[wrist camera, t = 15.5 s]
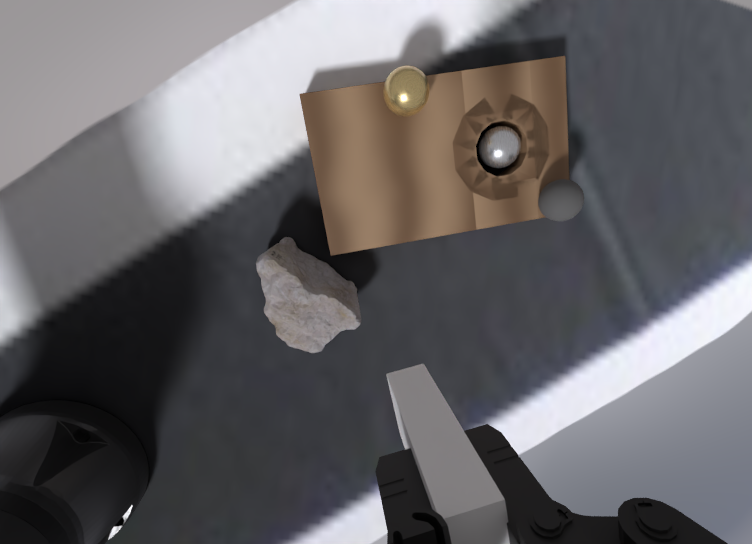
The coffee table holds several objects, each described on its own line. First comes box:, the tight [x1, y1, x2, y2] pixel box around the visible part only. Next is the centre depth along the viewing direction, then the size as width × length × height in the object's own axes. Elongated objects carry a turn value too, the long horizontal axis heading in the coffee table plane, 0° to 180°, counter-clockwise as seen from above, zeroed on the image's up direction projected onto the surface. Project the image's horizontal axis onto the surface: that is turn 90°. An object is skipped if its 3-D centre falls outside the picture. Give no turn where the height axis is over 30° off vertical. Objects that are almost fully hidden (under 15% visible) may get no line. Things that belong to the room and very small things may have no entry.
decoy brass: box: [383, 65, 430, 117], centre depth 28 cm, size 4×4×4 cm
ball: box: [479, 126, 521, 168], centre depth 33 cm, size 4×4×4 cm
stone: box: [256, 237, 361, 353], centre depth 33 cm, size 10×8×6 cm
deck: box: [300, 56, 569, 256], centre depth 33 cm, size 22×13×2 cm, turn 99°
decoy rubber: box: [538, 179, 584, 221], centre depth 32 cm, size 4×4×4 cm
